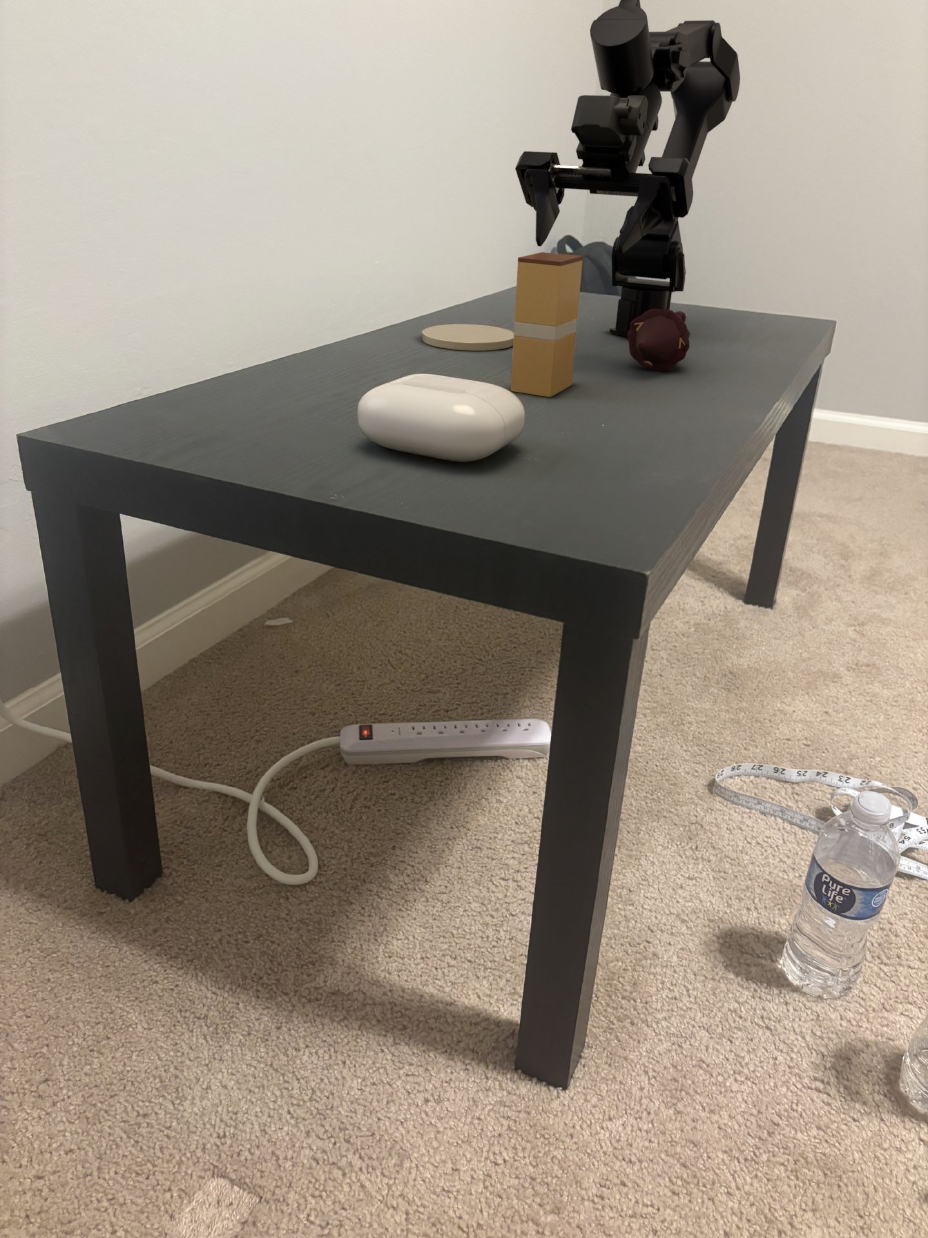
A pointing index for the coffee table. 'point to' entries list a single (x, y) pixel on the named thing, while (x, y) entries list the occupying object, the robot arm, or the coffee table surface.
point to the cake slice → (545, 322)
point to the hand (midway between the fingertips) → (578, 246)
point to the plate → (468, 337)
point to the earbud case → (441, 417)
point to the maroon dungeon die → (659, 339)
